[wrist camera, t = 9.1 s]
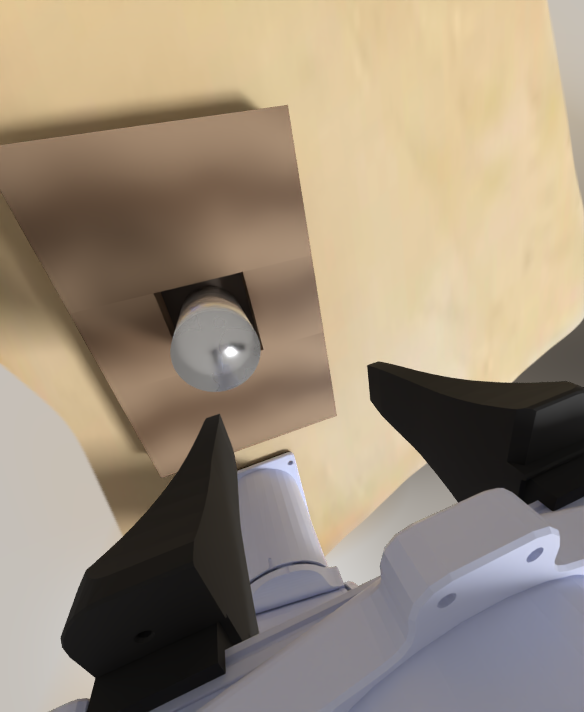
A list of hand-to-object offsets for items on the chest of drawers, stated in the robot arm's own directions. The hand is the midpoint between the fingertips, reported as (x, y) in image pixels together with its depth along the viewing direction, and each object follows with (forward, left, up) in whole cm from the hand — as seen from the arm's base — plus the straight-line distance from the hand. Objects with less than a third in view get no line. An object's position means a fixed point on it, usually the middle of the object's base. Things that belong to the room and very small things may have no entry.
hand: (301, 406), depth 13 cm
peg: (+3, +3, -9) cm, 10 cm away
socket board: (+3, +3, -9) cm, 10 cm away
